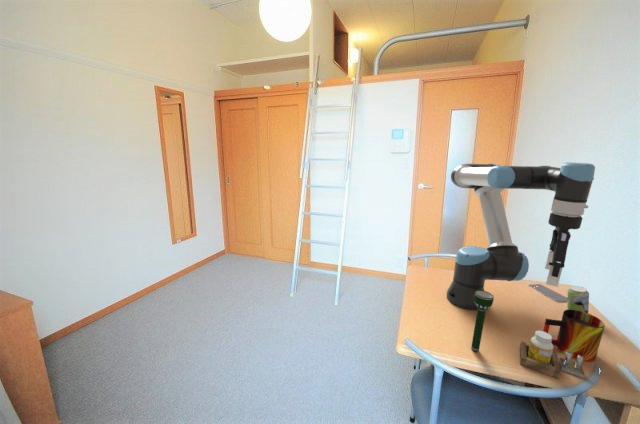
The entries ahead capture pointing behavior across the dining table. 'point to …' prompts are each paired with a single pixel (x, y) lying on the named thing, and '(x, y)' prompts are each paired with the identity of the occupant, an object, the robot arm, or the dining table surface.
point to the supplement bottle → (541, 347)
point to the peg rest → (572, 365)
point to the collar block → (539, 366)
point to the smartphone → (549, 293)
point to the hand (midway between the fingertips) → (550, 276)
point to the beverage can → (578, 299)
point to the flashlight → (480, 315)
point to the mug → (577, 334)
